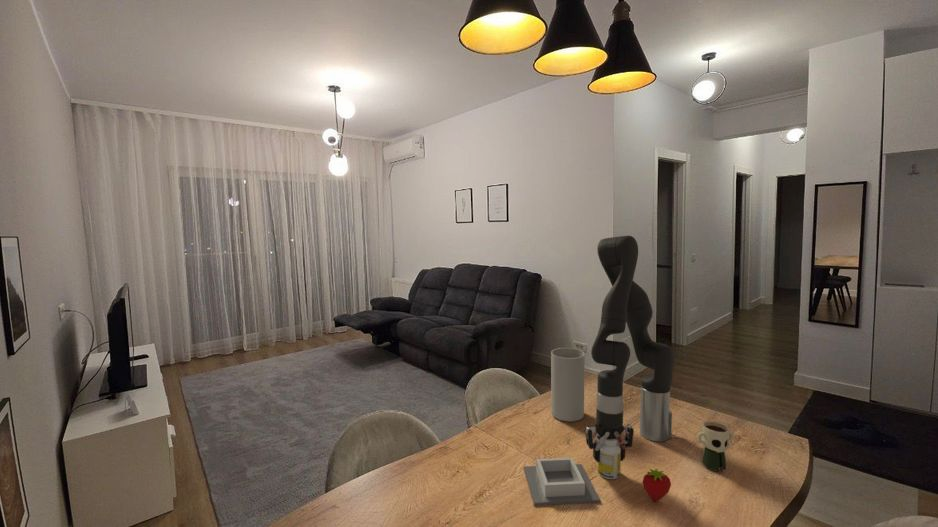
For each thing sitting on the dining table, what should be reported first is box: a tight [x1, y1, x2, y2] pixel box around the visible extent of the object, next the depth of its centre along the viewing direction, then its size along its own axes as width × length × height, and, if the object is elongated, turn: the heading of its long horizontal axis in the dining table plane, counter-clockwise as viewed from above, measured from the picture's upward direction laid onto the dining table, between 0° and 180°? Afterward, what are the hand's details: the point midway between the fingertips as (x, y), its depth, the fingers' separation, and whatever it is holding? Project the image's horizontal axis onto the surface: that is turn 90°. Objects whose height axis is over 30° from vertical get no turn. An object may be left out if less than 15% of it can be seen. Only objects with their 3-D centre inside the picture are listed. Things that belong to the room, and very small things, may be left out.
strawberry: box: [642, 467, 672, 502], centre depth 108 cm, size 6×8×10 cm
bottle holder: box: [523, 457, 601, 506], centre depth 116 cm, size 18×16×4 cm
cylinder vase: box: [550, 347, 586, 423], centre depth 156 cm, size 12×12×25 cm
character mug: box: [697, 420, 734, 472], centre depth 122 cm, size 11×7×13 cm, turn 94°
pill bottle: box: [597, 439, 622, 480], centre depth 120 cm, size 6×6×12 cm
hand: (608, 459), depth 120 cm, fingers closed on pill bottle, 6 cm apart
